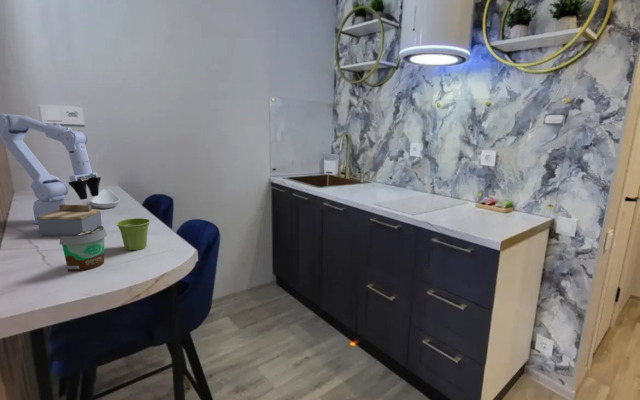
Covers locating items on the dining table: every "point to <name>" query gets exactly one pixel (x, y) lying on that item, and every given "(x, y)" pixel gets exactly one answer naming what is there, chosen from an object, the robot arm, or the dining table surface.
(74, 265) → the food container
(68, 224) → the box
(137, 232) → the plant pot
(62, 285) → the dining table surface
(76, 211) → the lid
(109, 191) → the spoon rest
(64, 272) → the dining table surface
